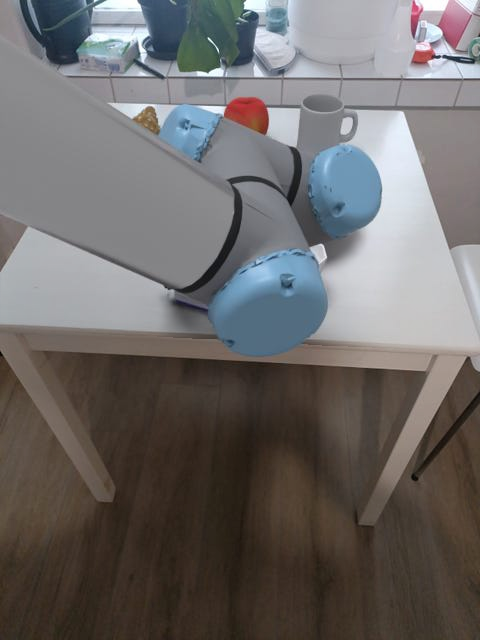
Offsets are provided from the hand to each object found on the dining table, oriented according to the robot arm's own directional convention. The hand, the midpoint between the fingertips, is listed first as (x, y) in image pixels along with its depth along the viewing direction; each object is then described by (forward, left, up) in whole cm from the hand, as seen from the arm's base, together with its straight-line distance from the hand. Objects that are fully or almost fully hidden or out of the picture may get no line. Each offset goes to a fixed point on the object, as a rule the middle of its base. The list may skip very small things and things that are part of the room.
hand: (183, 266), depth 74 cm
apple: (-10, +43, -4) cm, 44 cm away
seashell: (-31, +35, -4) cm, 47 cm away
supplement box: (+3, -1, -4) cm, 5 cm away
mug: (+7, +46, -4) cm, 47 cm away
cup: (+15, +6, -4) cm, 17 cm away
